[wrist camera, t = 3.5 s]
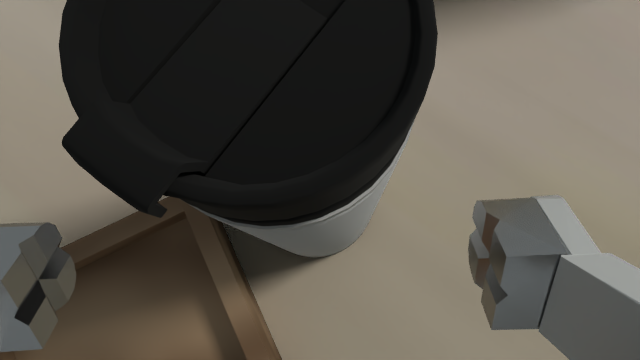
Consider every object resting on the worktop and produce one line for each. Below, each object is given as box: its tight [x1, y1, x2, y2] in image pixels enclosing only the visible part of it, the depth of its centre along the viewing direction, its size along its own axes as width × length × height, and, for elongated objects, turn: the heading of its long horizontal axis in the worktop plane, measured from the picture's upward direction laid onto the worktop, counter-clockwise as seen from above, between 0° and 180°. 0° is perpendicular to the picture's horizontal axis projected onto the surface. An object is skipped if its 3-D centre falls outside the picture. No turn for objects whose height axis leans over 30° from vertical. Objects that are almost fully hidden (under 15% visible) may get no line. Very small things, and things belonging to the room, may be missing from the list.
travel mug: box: [59, 0, 438, 258], centre depth 17 cm, size 6×7×20 cm
